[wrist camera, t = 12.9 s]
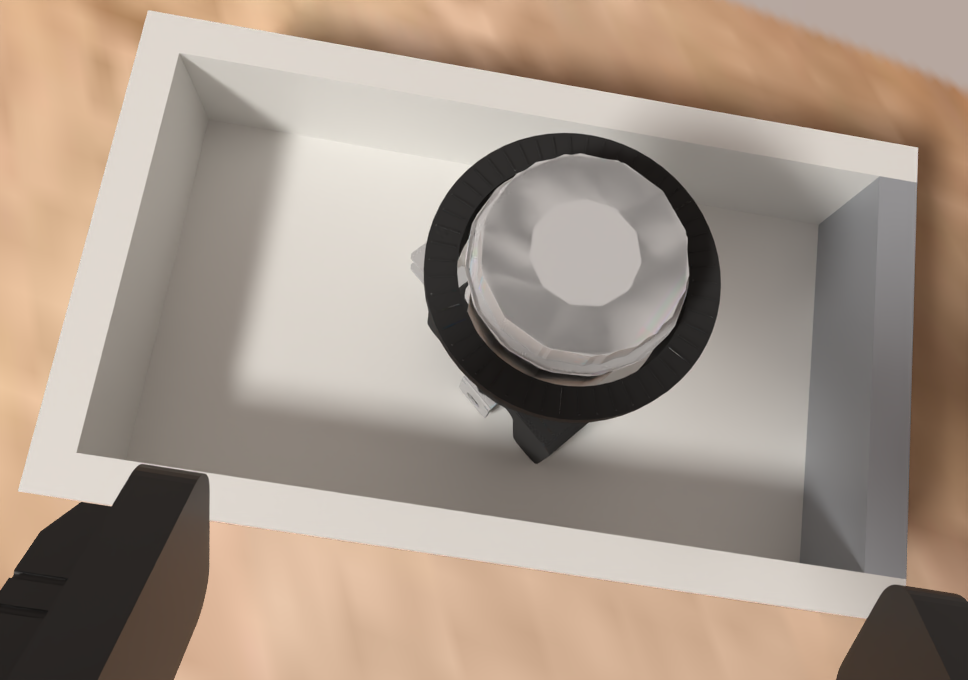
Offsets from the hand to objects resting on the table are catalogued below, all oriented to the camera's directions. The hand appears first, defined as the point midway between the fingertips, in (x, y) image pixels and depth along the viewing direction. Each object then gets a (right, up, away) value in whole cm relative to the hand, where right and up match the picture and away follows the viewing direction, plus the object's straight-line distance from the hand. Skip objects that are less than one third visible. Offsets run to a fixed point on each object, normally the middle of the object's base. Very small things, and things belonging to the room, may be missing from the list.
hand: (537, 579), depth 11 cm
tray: (0, +3, +15) cm, 15 cm away
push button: (0, +2, +14) cm, 14 cm away
